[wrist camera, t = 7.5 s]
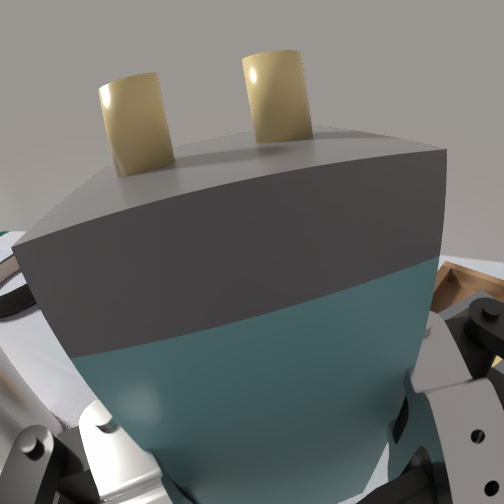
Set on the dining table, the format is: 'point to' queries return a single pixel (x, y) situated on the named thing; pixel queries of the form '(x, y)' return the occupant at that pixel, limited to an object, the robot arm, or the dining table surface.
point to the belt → (17, 297)
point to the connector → (246, 288)
